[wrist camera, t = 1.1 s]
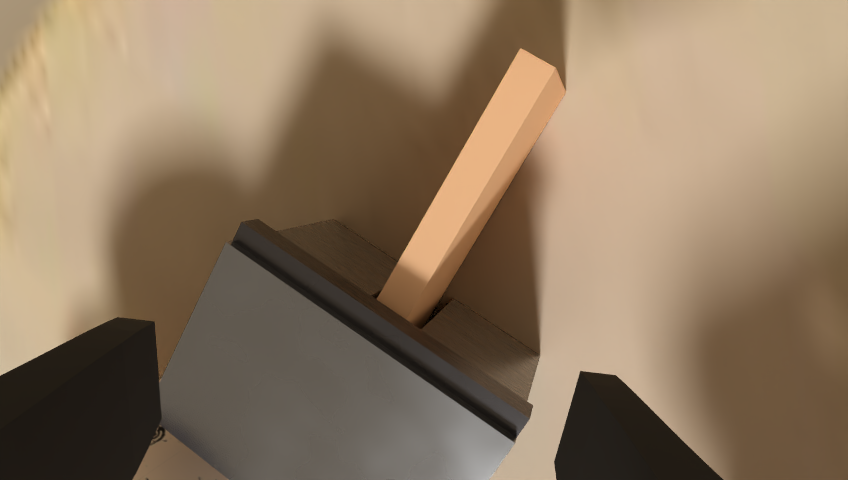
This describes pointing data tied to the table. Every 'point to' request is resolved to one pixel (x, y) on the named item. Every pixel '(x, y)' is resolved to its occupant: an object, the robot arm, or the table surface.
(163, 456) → the teacup with lid
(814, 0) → the table surface
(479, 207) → the long wooden plank
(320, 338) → the dispenser
